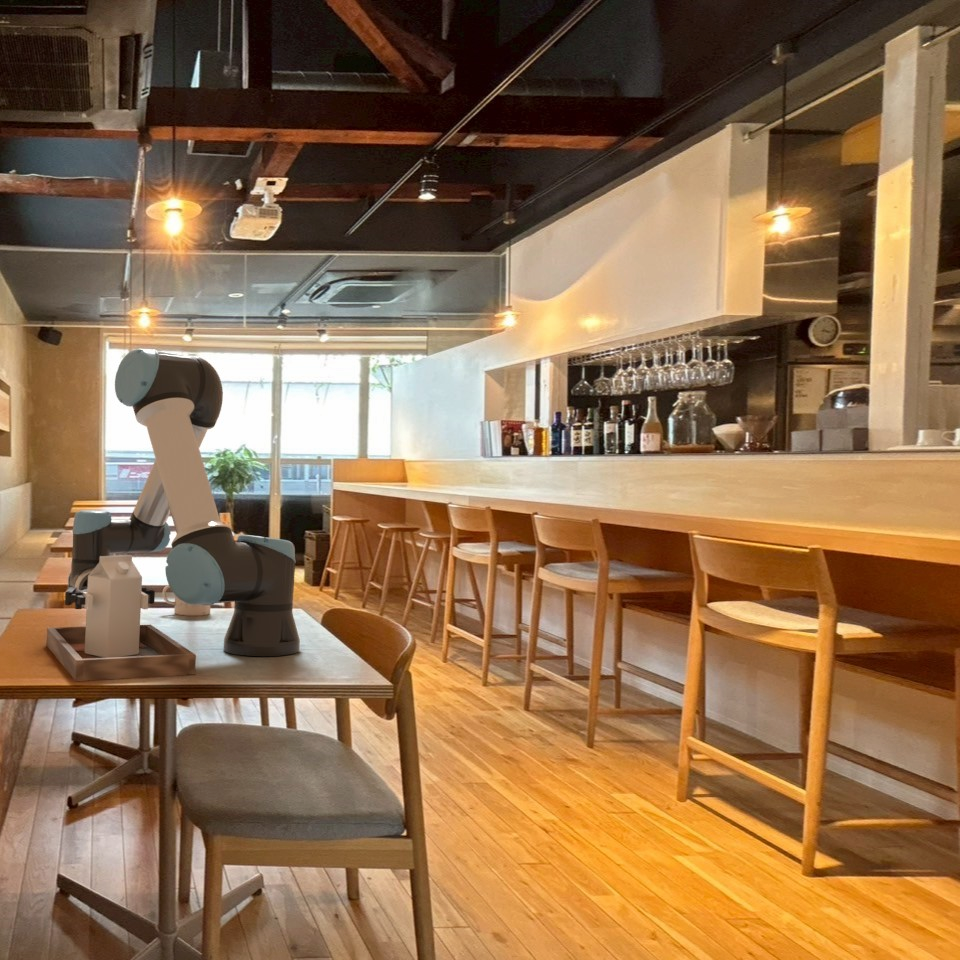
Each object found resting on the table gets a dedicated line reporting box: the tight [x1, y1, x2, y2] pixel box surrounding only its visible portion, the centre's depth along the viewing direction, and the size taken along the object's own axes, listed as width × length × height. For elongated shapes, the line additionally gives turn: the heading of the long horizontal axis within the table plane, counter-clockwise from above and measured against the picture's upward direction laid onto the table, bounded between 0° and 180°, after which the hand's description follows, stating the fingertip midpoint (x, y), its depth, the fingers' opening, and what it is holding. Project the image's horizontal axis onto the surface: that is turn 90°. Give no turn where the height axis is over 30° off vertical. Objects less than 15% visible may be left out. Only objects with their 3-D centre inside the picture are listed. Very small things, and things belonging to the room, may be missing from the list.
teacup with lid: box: [161, 584, 211, 617], centre depth 255 cm, size 12×9×12 cm
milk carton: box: [84, 554, 143, 658], centre depth 197 cm, size 7×7×19 cm
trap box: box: [46, 624, 197, 682], centre depth 193 cm, size 20×36×4 cm, turn 30°
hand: (118, 602), depth 193 cm, fingers closed on milk carton, 9 cm apart
